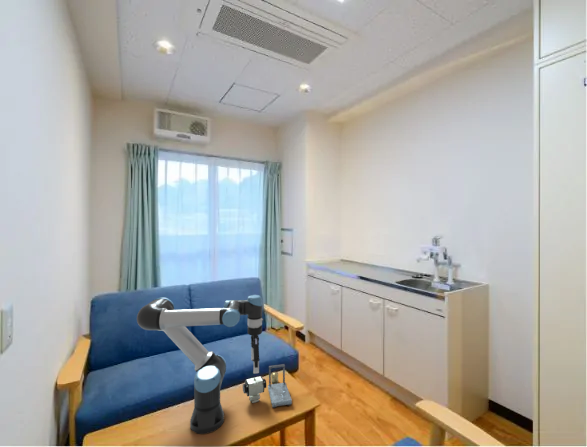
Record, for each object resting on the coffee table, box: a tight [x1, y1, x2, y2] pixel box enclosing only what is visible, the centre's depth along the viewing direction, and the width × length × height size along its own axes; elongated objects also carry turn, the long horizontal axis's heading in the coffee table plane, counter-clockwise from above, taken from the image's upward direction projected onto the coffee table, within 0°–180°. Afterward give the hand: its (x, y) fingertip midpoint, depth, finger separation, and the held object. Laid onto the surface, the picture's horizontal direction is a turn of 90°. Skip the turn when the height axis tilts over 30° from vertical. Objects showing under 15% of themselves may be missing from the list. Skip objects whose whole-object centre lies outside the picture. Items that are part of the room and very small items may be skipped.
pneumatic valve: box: [242, 375, 268, 404], centre depth 144 cm, size 6×12×12 cm, turn 115°
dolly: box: [267, 363, 293, 409], centre depth 147 cm, size 10×16×14 cm, turn 13°
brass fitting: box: [271, 371, 279, 384], centre depth 161 cm, size 4×4×5 cm
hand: (254, 366), depth 144 cm, fingers open, 13 cm apart
